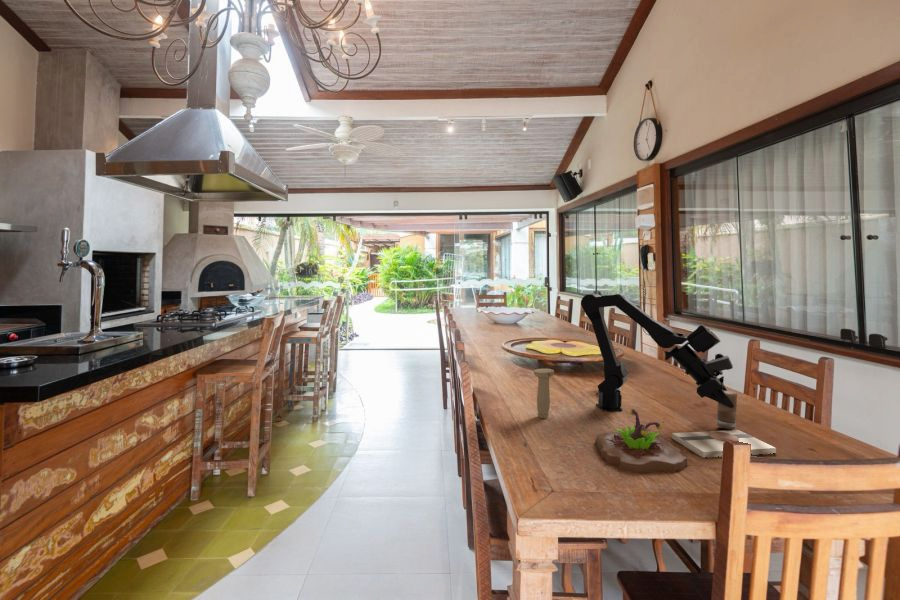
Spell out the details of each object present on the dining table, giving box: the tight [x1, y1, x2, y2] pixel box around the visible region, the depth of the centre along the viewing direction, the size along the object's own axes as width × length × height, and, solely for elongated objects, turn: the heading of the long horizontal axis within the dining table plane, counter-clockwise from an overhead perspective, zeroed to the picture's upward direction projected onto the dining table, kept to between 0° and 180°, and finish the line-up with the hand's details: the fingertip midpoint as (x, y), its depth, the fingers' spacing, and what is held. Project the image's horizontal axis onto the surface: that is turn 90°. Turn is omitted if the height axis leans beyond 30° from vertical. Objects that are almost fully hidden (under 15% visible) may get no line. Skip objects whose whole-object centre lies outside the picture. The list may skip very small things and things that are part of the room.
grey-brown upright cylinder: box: [716, 390, 738, 430], centre depth 122 cm, size 5×5×10 cm
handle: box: [533, 368, 555, 420], centre depth 132 cm, size 5×6×15 cm
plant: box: [595, 408, 688, 474], centre depth 106 cm, size 20×20×11 cm
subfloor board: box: [671, 429, 777, 459], centre depth 111 cm, size 20×12×2 cm, turn 96°
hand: (732, 405), depth 121 cm, fingers closed on grey-brown upright cylinder, 4 cm apart
